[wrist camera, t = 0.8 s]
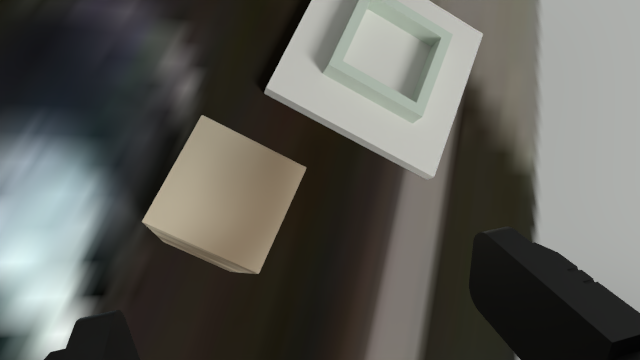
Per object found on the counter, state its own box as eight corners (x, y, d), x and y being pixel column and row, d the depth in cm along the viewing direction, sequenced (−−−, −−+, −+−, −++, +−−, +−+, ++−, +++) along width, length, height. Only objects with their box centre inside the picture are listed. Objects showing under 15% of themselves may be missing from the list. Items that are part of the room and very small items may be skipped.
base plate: (263, 93, 30) (269, 78, 28) (336, -46, 34) (346, -69, 32) (427, 179, 32) (445, 172, 30) (475, 40, 37) (494, 24, 34)
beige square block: (163, 241, 26) (141, 221, 15) (198, 177, 28) (202, 114, 16) (230, 271, 27) (258, 273, 16) (261, 207, 28) (306, 167, 17)
